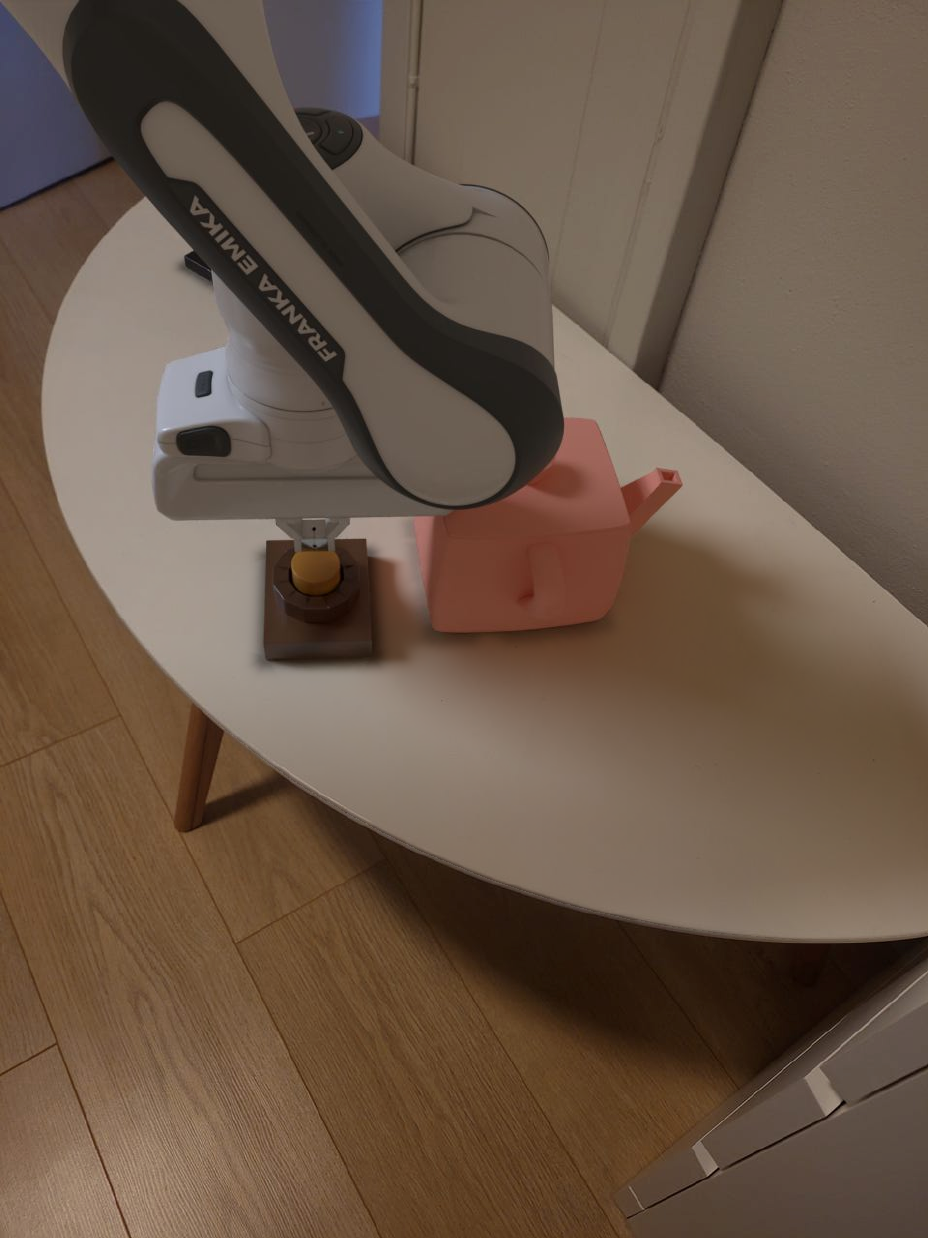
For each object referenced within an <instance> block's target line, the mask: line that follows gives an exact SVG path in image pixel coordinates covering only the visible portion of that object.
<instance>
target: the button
mask: <svg viewBox="0 0 928 1238" xmlns="http://www.w3.org/2000/svg"><path fill="white" fill-rule="evenodd" d="M291 568H292V578H293V583H294V585H295V586H296V588H297V589H298V590H299V591H301V592H302V593H304V594H307V595H311V596H321V595H325V594H328V593H330V592H331V591H333V590H334V589H335V588H336V587H337V585H338V584H339V581H340V560H339V558H338V556H337V554H336V553H335V552H334V551H328V552H315V551H314V552H297V553H296V554H295V555H294V557H293V559H292V562H291Z"/></svg>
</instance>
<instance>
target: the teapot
mask: <svg viewBox="0 0 928 1238" xmlns="http://www.w3.org/2000/svg"><path fill="white" fill-rule="evenodd" d="M605 441H606V440H605V439H604V436H603V434H602V431H601V429H600V426H599V424H598V422H597V420H595V419H592V418H585V417H564V434H563V439H562V442H561V445H560V447H559V449H558V451H557V453H556V455H555V456H554V458H553V459H552V461H551V462H550V463H549V464H548V465H547V466H546V468H545V469H544V470H542V471H541V472H540V473H539V474H538V475H537V476H536V477H535V478H534V479H533V480H532V481H530V482H529V483H528V484H527V485H526V486H524V487H523V488H521V489H520V490H518V491H517V492H515V493H514V494H512V495H510V496H509V497H506V498H504V499H502V500H500V501H498V502H495V503H492V504H489V505H486V506H482V507H478V508H473V509H465V510H454V511H452V512H451V513H450V514H448V515H446V516H420V517H413V524H414V534H415V540H416V541H415V542H416V548H417V554H418V555H417V556H418V561H419V562H418V563H419V568H420V572H421V579H422V583H423V590H424V594H425V601H426V605H427V611H428V615H429V619H430V623H431V626H432V628H433V630H434V631H436V632H440V633H490V632H491V633H492V632H493V633H494V632H515V631H516V632H517V631H518V632H519V631H528V630H529V631H530V630H537V629H546V628H555V627H561V626H562V627H563V626H569V625H576V624H577V625H578V624H583V623H589V622H594V621H599V620H601V619H603V618H604V617H605V615H607V613H608V612H609V610H610V609H611V608H612V607H613V605H614V603H615V601H616V598H617V594H618V593H619V590H620V589H619V588H620V586H621V583H622V579H623V576H624V572H625V568H626V563H627V557H628V552H629V546H630V540H631V538H632V537H633V536H634V535H635V534H637V532H638V531H639V530H640V529H641V528H642V527H643V526H644V525H645V524H646V523H647V522H648V521H649V520H650V519H651V518H652V517H653V516H654V515H656V513H657V512H658V511H659V510H661V508H662V507H663V506H664V505H665V504H666V503H667V502H668V501H669V500H670V499H671V498H672V497H674V495H675V494H677V492H679V490H680V489H681V488H682V487H683V485H684V484H683V481H682V479H681V476H680V473H679V471H678V470H677V469H676V470H675V469H669V468H660V467H655V469H654V470H652V471H651V472H649V473H647V474H645V475H643V476H640V477H639V478H636V479H635V480H633V481H631V482H629V483H627V484H625V485H623V486H621V485H620V481H619V478H618V475H617V473H616V471H615V467H614V465H613V461H612V459H611V455H610V452H609V450H608V448H607V447H608V446H607V445H606V442H605Z"/></svg>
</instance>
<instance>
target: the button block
mask: <svg viewBox="0 0 928 1238" xmlns="http://www.w3.org/2000/svg"><path fill="white" fill-rule="evenodd" d="M367 543H368V542H367V538H335V551H334V552H335V553H336V554H337V556H338V558H339V560H340V581H339V584H338V585H337V587H336V588H335V589H334V590H333V591H331V592H330V593H328V594H325V595H321V596H311V595H307V594H304V593H302V592H301V591H299V590H298V589H297V588H296V586H295V585H294V583H293V578H292V568H291V562H292V559H293V557H294V555H295V554H296V553H297V552H295V549H294V539H268V540H266V541H265V563H264V564H265V565H264V567H265V568H264V598H263V599H264V601H263V602H264V604H263V605H264V606H263V636H262V645H263V651H264V658H265V660H266V661H269V660H272V661H273V660H298V659H299V660H300V659H301V660H302V659H328V658H357V657H372V649H373V639H372V637H373V636H372V620H371V619H372V616H371V601H370V583H369V582H370V581H369V580H370V579H369V563H368V545H367Z"/></svg>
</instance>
